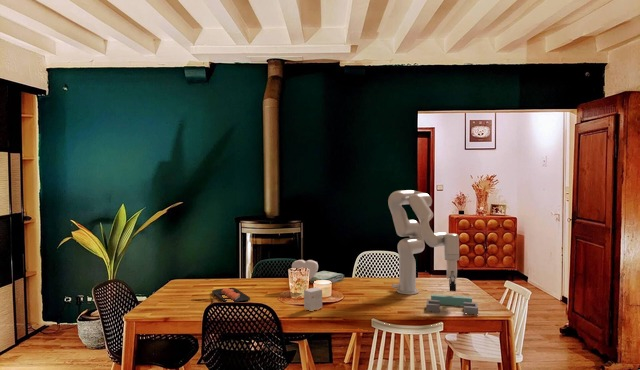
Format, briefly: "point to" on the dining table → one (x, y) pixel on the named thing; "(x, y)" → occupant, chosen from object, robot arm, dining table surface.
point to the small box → (313, 299)
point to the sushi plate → (229, 295)
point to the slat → (451, 299)
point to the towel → (327, 276)
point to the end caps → (435, 307)
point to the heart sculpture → (307, 266)
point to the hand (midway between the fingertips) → (452, 288)
